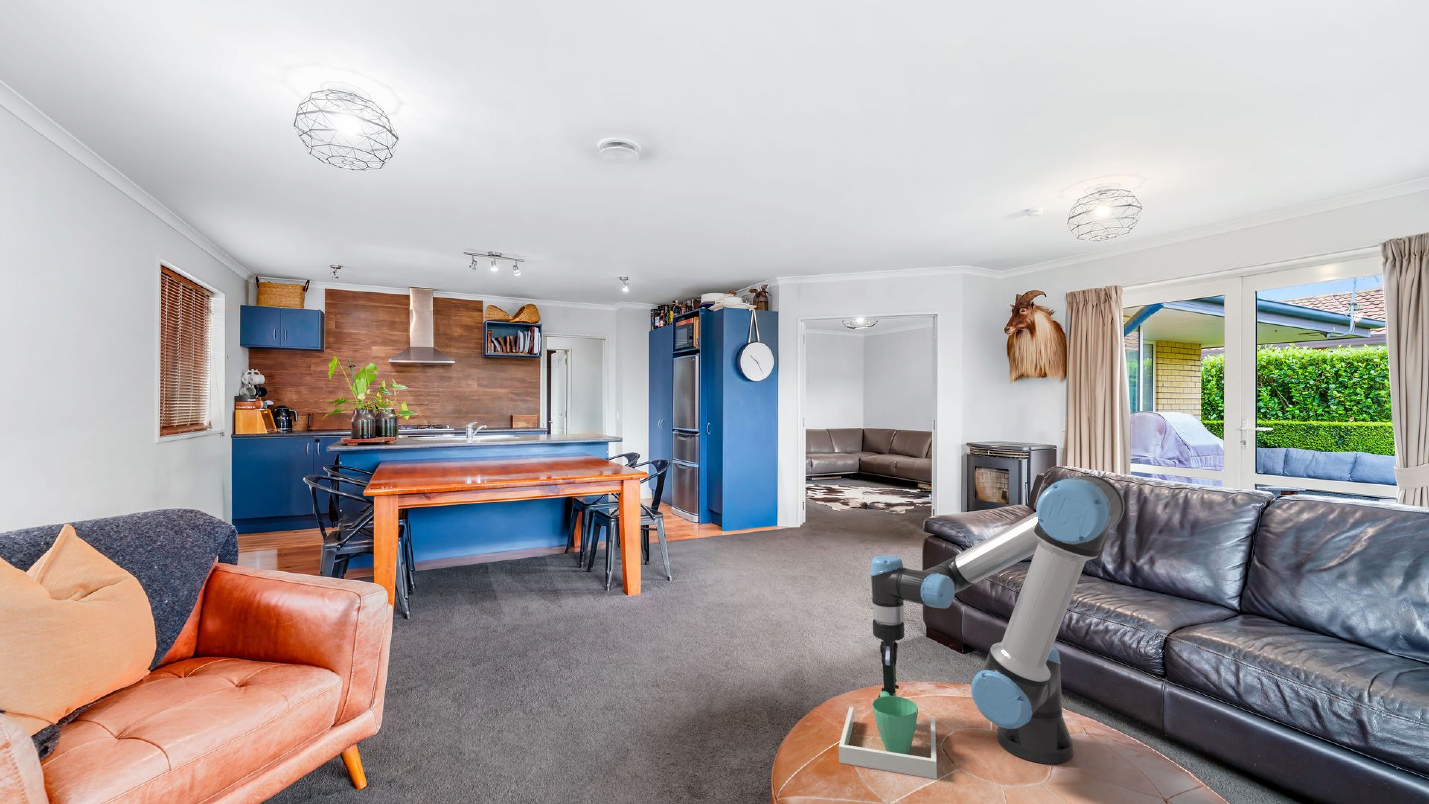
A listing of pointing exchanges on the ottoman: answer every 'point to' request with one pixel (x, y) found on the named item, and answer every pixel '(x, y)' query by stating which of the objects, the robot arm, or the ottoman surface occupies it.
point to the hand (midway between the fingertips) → (891, 717)
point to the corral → (886, 755)
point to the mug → (895, 721)
